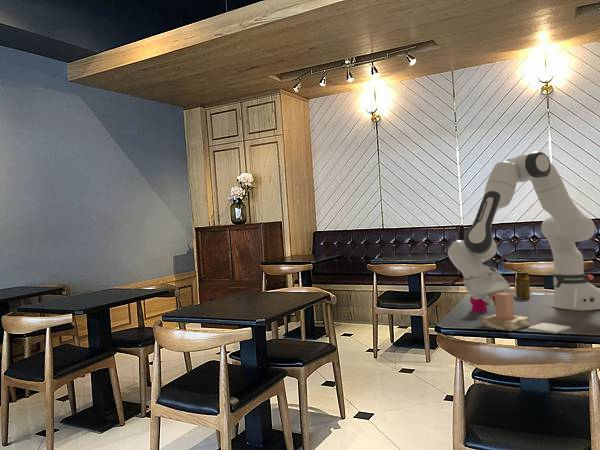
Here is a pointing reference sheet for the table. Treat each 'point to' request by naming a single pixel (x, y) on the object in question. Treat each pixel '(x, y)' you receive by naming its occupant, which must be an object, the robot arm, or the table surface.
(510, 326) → the pocket board
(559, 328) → the felt pad
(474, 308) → the pepper mill
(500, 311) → the terracotta block
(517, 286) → the condiment
